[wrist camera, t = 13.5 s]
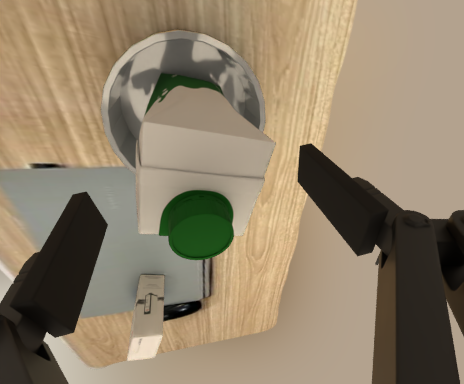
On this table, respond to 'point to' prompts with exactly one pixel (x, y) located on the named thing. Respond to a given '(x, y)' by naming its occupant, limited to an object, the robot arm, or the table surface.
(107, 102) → the steel tub
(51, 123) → the table surface
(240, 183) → the soya milk
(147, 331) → the ink box
